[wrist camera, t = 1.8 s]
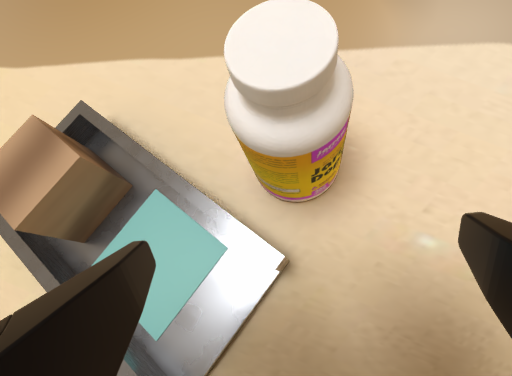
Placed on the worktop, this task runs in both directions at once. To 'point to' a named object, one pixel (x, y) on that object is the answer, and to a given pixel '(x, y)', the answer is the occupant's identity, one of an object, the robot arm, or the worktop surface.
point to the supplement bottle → (288, 96)
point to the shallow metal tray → (162, 256)
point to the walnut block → (55, 184)
